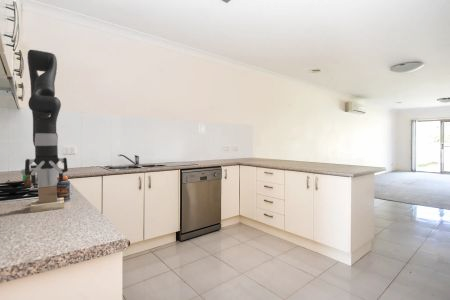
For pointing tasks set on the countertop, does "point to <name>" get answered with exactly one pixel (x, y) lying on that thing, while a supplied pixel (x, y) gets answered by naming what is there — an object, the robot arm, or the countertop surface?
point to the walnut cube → (47, 194)
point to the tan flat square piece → (46, 205)
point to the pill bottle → (63, 188)
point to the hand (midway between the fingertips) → (47, 183)
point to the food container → (28, 177)
